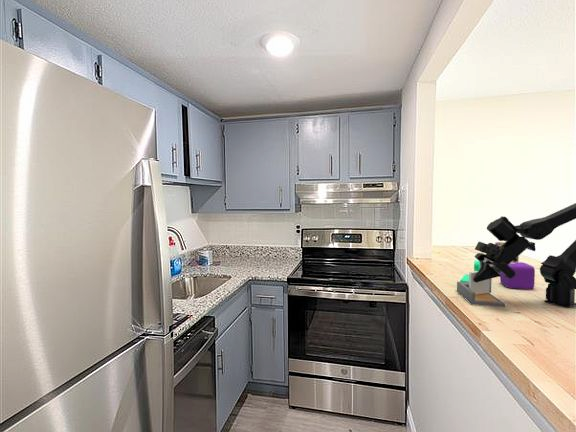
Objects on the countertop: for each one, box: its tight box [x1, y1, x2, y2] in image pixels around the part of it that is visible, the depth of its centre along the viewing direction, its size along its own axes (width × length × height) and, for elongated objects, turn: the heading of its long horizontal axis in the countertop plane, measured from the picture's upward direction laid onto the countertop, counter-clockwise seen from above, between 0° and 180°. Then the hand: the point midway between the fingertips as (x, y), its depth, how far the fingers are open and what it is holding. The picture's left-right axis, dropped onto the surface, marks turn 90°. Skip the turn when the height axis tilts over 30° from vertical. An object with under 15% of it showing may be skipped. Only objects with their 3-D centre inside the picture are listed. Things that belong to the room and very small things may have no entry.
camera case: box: [456, 281, 506, 307], centre depth 112 cm, size 10×17×4 cm, turn 168°
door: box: [468, 271, 493, 295], centre depth 112 cm, size 1×10×8 cm, turn 109°
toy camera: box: [499, 261, 536, 290], centre depth 128 cm, size 11×14×10 cm
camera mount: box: [460, 260, 480, 282], centre depth 130 cm, size 12×8×10 cm, turn 143°
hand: (474, 281), depth 109 cm, fingers closed
